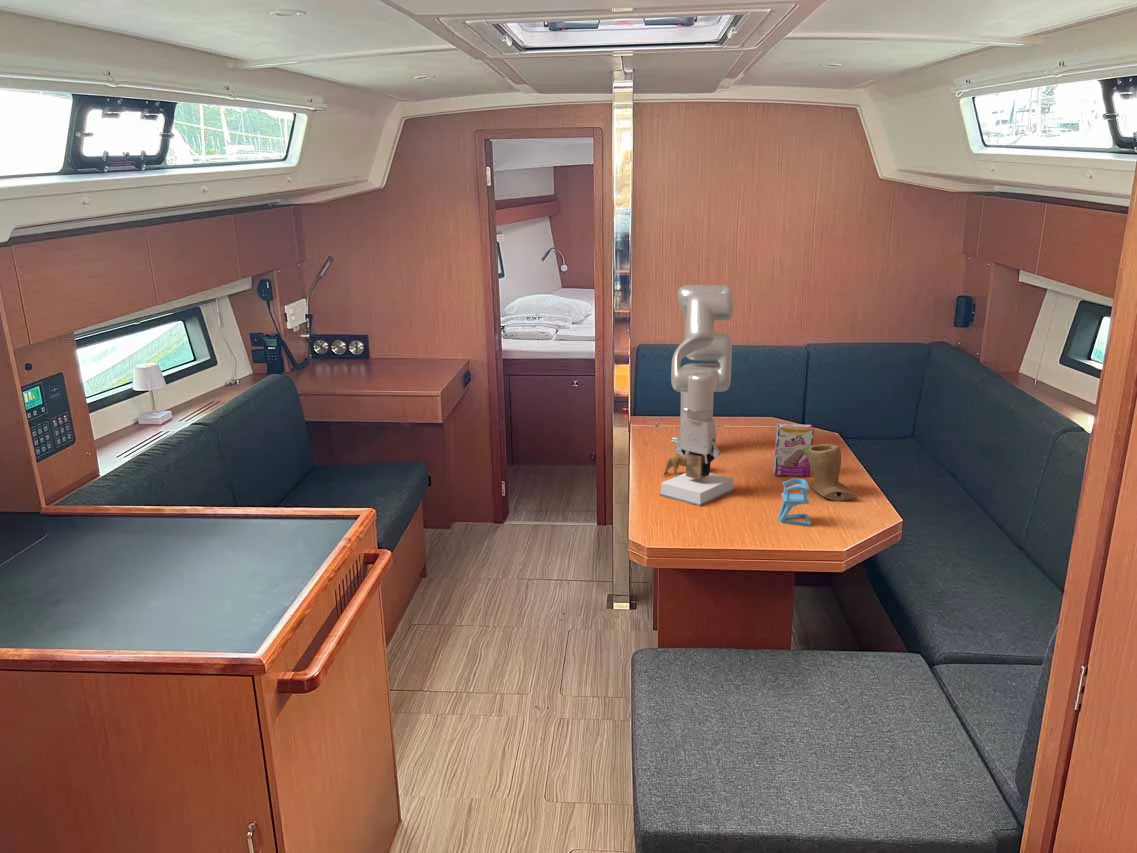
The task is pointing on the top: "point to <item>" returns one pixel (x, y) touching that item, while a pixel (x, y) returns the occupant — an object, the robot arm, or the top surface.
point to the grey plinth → (696, 488)
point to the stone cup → (827, 472)
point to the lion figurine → (675, 463)
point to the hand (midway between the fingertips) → (697, 472)
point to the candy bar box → (792, 450)
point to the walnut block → (694, 465)
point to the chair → (794, 501)
